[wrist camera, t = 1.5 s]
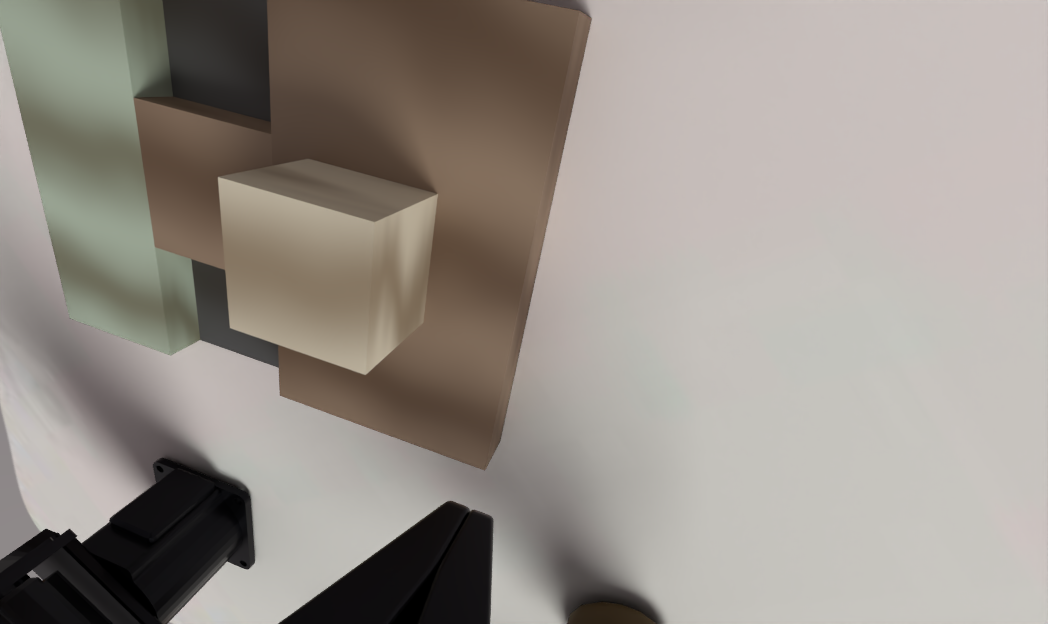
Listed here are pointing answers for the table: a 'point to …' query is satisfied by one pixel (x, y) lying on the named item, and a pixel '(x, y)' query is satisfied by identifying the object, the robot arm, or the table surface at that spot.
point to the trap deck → (296, 134)
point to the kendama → (607, 614)
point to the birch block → (326, 259)
